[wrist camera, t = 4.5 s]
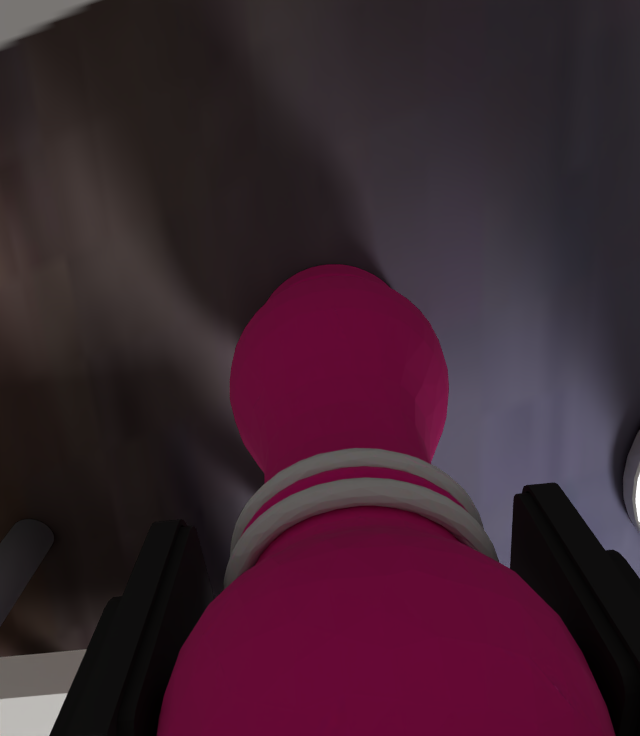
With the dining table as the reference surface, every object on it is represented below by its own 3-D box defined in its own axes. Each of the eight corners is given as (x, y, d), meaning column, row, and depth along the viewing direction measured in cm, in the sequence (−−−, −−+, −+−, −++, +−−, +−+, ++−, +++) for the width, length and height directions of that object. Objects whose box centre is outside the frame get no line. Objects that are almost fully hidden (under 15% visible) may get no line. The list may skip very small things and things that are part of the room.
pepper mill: (220, 277, 21) (-486, 1394, 2) (401, 228, 20) (1403, 1240, 2) (274, 431, 23) (149, 1478, 5) (434, 393, 23) (937, 1431, 5)
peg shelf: (326, 480, 25) (335, 669, 16) (351, 681, 30) (367, 901, 21) (-9, 514, 25) (-179, 715, 16) (77, 705, 31) (-15, 931, 22)
